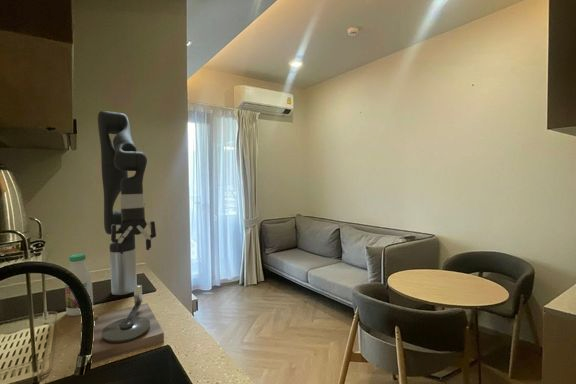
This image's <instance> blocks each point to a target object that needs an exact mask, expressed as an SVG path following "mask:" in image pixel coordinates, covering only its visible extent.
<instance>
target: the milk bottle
mask: <svg viewBox="0 0 576 384" xmlns="http://www.w3.org/2000/svg"><path fill="white" fill-rule="evenodd" d="M86 257H87V256H86V254H85V253H79V254H78V253H76V254H72V255H70V256H69V257H68V260H69V261H68V262H69V264H70V265H69V269H68V271H71V272H72V273H74V274H75V275H76V276H77V277H78V278H79V279H80V280H81V281H82V283H83V284H84V286H85V288H86V290H87V292H88V294H89V296H90V299H91V302H92V306H93V307H94V295H93V293H94V292H93V281H92V280H93V279H92V274H91V272H90V270H89V269H88V267H87V264H86ZM64 289H65V290H64V291H65V295H64V296H65V311H66V315H67V316H69V317H77V316H81V315H80V310H79V307H78V304H77V301H76V299H75V297H74V295H73V293H72V292H71V290H70V289H69V288H68V286H67V285H66V284H65V283H64Z"/></svg>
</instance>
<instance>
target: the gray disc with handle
mask: <svg viewBox="0 0 576 384" xmlns="http://www.w3.org/2000/svg"><path fill="white" fill-rule="evenodd" d="M133 298H134V299H133V300H134V301H133V303H134V305H133V306H134V307H133V306H132V307H133V309H132V310H131V312H130V314H129V316H128V317H127V318H124V319H121V320H118V321H115V322H113V323H111V324H109V325H107V326H106V327H105V328H104V329H103V331H102V339H103V341H105V342H107V343H124V342H128V341H132V340H135V339H137V338H139V337H141V336H143V335H144V334H146V333H147V332H148V331H149V329H150V321H149V319H147V318H145V317H135V315H136V313H137V312H138V310H139V308H140V306H141V305H142V304H143V285H142V284H137V285H136V286H134V292H133Z"/></svg>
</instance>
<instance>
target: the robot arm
mask: <svg viewBox="0 0 576 384" xmlns="http://www.w3.org/2000/svg"><path fill="white" fill-rule="evenodd" d="M97 127H98V135H99V143H100V159H101V160H100V162H101V166H100V167H101V180H102V187H103V224H104V225H103V226H104V232H105V234H107V235H110V241H111V242H112V243H110V244H109V262H110V263H109V264H110V266H109V267H110V285H111V286H110V289H111V295H114V296H123V295H124V296H125V295H128V294H131V293H134V286H136V285H138V283H137V282H138V280H137V278H138V277H137V255H136V253H137V252H136V235H137V236H139V235H143V236H144V238H145V249H146V251H150V249H151V248H152V239H154V238H156V237H157V231H156V222H155V221H153V220H150V221H146V214H145V205H146V204H145V198H144V188H143V186H144V185H143V184H144V183H143V182H144V176H145V172H146V171H145V170H146V167H147V164H148V163H147V162H148V159H147V156H146V154H145V153H144V152H143V151H137V147H136V145H135V142H134V139H133V137H132V129H131V125H130V121H129V118H128V115H126V114H125V113H122V112H117V111H110V110H109V111H108V110H107V111H106V110H101V111H99V113H98V114H97ZM110 135H115V136H114V137H113V140H111V138H110ZM128 172H135V173H134V175H132V176H130V177H129V174H128ZM119 195H120V210H114V206H115V205H114V204H115V202H116V201H117V199H118V196H119ZM146 227H148V228H150V234H148V233H147V232H146V230H145V228H146ZM117 235H120V236H119V237H118V238H117Z"/></svg>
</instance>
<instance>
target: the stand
mask: <svg viewBox="0 0 576 384" xmlns="http://www.w3.org/2000/svg"><path fill="white" fill-rule="evenodd" d="M133 307H134V305H133V306H130V307H126V308H122V309H121V308H120V309H117V310H113V311H112V310H111V311H108V312H104V313H100V314H99V313H98V314H93V315H94V321H95V326H94V341H93V347H92V364H95V363H99V362H102V361H106V360H107V359H108V360H109V359H111V358H114V357H117V356H121V355H124V354H127V353H131V352H134V351H137V350H140V349H143V348H148V347H149V346H153V345H157V344H160V343H164V341H165V336H164V335H165V334H164V330H163V329H162V327H161V324H160V323H159V321H158V320H157V318H156V316H155V314H154V313H153V312H154V311H153V310H152V308H151V307H150V305H149V303H141V306H140V308H139V310H138V312H137V313H136V315H135V317H145V318H147V319H149V321H150V329H149V331H148V332H147V333H146V334H144V335H143V336H141V337H139V338H137V339H135V340H132V341H128V342H124V343H107V342H105V341H103V339H102V331H103V329H104V328H105V327H106V326H107V325H109V324H111V323H113V322H115V321H118V320H121V319H124V318H127V317H128V316H129V314H130V312H131V310H132V309H133Z"/></svg>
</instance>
